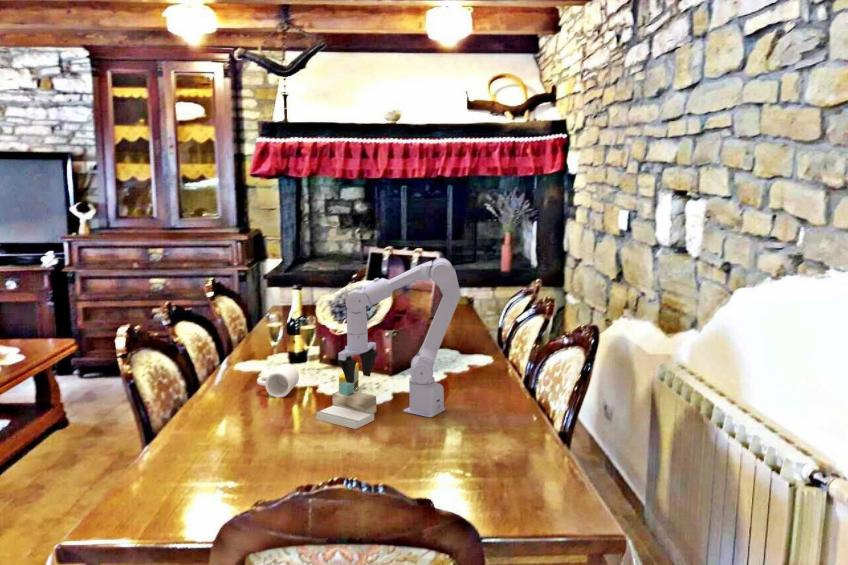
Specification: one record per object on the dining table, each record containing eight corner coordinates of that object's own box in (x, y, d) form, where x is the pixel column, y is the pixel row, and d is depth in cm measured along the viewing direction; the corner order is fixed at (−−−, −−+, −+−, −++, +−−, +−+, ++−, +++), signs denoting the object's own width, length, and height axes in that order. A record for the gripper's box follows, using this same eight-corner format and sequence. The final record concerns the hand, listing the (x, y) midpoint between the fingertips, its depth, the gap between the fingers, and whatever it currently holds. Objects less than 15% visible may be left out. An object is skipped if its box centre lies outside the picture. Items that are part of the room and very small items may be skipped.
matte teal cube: (354, 393, 206) (353, 383, 205) (347, 395, 203) (347, 385, 203) (346, 391, 207) (346, 381, 207) (339, 394, 205) (339, 384, 204)
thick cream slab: (376, 412, 204) (376, 395, 203) (365, 417, 200) (365, 400, 199) (343, 405, 210) (343, 389, 209) (332, 410, 206) (332, 393, 205)
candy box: (345, 404, 211) (344, 377, 209) (338, 403, 211) (337, 377, 210) (359, 387, 226) (358, 362, 225) (353, 387, 227) (352, 362, 226)
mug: (299, 388, 226) (298, 363, 225) (290, 398, 217) (289, 372, 215) (263, 387, 228) (261, 363, 226) (252, 397, 218) (251, 372, 216)
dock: (374, 420, 197) (373, 413, 196) (355, 429, 190) (355, 421, 190) (335, 411, 204) (335, 404, 204) (316, 419, 198) (316, 412, 198)
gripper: (362, 326, 208) (363, 370, 211) (329, 335, 196) (330, 383, 199) (381, 328, 205) (382, 374, 207) (349, 339, 193) (350, 387, 195)
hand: (358, 379), depth 202 cm, fingers open, 7 cm apart
